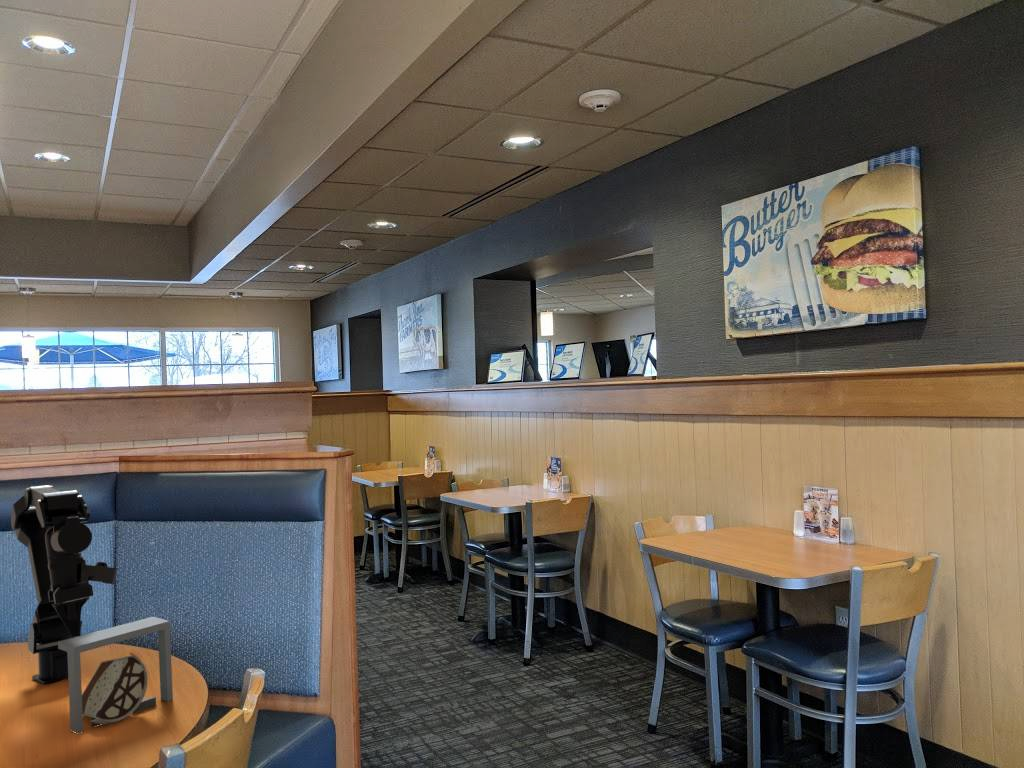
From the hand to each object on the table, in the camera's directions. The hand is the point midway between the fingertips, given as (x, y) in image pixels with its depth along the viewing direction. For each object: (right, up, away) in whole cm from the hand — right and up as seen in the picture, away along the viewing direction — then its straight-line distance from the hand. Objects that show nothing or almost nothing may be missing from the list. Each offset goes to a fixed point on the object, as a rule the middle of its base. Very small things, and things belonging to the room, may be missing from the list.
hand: (75, 636), depth 151 cm
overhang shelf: (+14, -10, -10) cm, 20 cm away
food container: (+9, -8, -8) cm, 14 cm away
